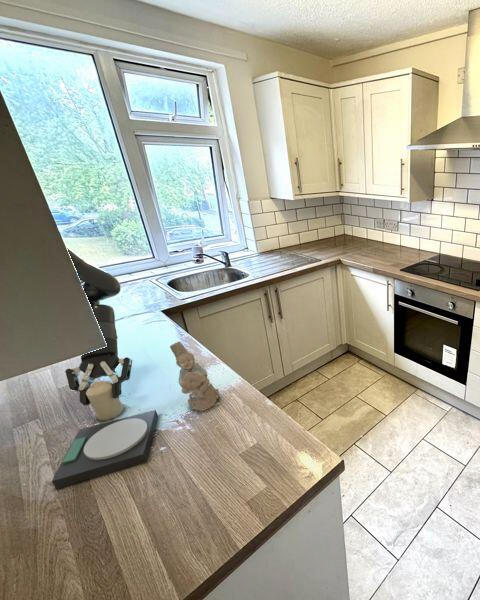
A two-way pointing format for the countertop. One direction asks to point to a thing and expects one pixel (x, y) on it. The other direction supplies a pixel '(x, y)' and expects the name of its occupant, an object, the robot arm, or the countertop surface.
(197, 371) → the figurine
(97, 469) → the kitchen scale
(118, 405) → the candle
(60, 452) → the countertop surface
